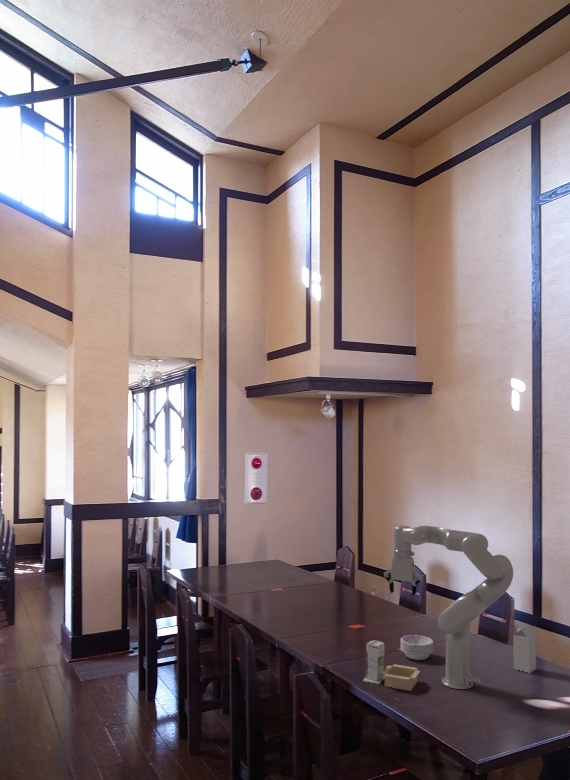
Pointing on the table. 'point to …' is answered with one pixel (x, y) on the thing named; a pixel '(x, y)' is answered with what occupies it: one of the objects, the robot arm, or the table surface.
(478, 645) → the table surface
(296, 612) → the table surface
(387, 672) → the carton
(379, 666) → the syrup box
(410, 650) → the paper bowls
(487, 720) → the table surface
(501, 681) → the table surface
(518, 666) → the milk carton
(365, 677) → the plate
